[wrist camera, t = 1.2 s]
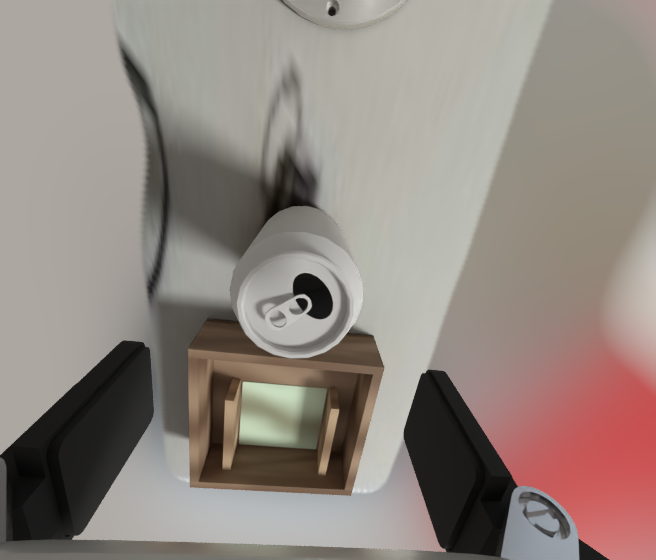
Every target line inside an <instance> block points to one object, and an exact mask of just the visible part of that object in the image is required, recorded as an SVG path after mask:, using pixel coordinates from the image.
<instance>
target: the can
mask: <svg viewBox="0 0 656 560" xmlns="http://www.w3.org/2000/svg"><path fill="white" fill-rule="evenodd" d="M230 295H231V302H232V309H233V311H234V313H235V315H236V316H237V319H238V321H239V323H240V325H241V327H242V329H243V330H244V332H245V334H246V335H247V336H248V337H249V338H250V339H251V340H252V341H253V342H254V343H255V344H256V345H257V346H258V347H260V348H262V349H264V350H266V351H267V352H269V353H271V354H273V355H277V356H282V357H286V358H309V357H312V356H315V355H318V354H321V353H325V352H326V351H328V350H329V349H331V348H332V347H334V346H335V345H337V344H338V343H339V342H340V341H341V340H342V339H343V337H344V336H345V335H346V334H347V332H348V331H349V330H350V328H351V327H352V326H353V324H354V323H355V322H356V320H357V317H358V315H359V312H360V309H361V307H362V304H363V283H362V280H361V277H360V274H359V271H358V268H357V265H356V263H355V260H354V258H353V256H352V253H351V251H350V249H349V246H348V244H347V241H346V239H345V237H344V234H343V232H342V230H341V228H340V227H339V226H338V224H337V223H336V222H335V220H334V219H333V218H332V217H330V216H329V215H328V214H326V213H325V212H323V211H322V210H319V209H316V208H312V207H309V206H292V207H290V208H287V209H284V210H281V211H279V212H278V213H276V214H275V215H274V216H273V217H271V218H270V219H269V220H268V221H267V222H266V224H265V225H264V227H263V228H262V229H261V231H260V232H259V234H258V235H257V236H256V238H255V239H254V241H253V242H252V243H251V245H250V246H249V248H248V249H247V250H246V252H245V253H244V255H243V256H242V258H241V260H240V261H239V263H238V264H237V266H236V268H235V269H234V271H233V276H232V281H231V286H230Z"/></svg>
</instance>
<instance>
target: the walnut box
mask: <svg viewBox="0 0 656 560" xmlns="http://www.w3.org/2000/svg"><path fill="white" fill-rule="evenodd" d="M383 371H384V365H383V362H382V360H381V357H380V354H379V351H378V348H377V345H376V342H375V339H374V336H370V335H361V334H351V333H347V334H346V335H345V336H344V337H343V339H342V340H341V341H340V342H339V343H338V344H337V345H335V346H334V347H332V348H331V349H329V350H328V351H326V352H325V353H321V354H318V355H315V356H312V357H309V358H286V357H282V356H277V355H273V354H271V353H269V352H267V351H266V350H264V349H262V348H260V347H258V346H257V345H256V344H255V343H254V342H253V341H252V340H251V339H250V338H249V337H248V336H247V335H246V334H245V332H244V330H243V329H242V327H241V325H240V323H239V322H237V321H228V320H218V319H209V318H208V319H207V320H206V322H205V323H204V325H203V326H202V328H201V329H200V331H199V332H198V334H197V336H196V337H195V339H194V340H193V342H192V343H191V345H190V346H189V348H188V394H189V454H190V487H197V488H214V489H234V490H253V491H254V490H255V491H272V492H274V491H275V492H292V493H311V494H331V495H350V496H351V493H352V490H353V486H354V482H355V478H356V474H357V470H358V467H359V463H360V459H361V455H362V451H363V447H364V444H365V440H366V436H367V432H368V428H369V424H370V421H371V417H372V413H373V409H374V405H375V401H376V398H377V394H378V390H379V386H380V382H381V379H382V375H383Z"/></svg>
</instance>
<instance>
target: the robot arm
mask: <svg viewBox="0 0 656 560" xmlns="http://www.w3.org/2000/svg"><path fill="white" fill-rule="evenodd" d="M283 1H284V3H285V4H287V5H288V6H289V7H290V8H292V9H293V10H294V11H295V12H297V13H298V14H299V15H300V16H302V17H304V18H306V19H308V20H310V21H312V22H313V23H315V24H318V25H321V26H325V27H329V28H333V29H356V28H361V27H366V26H370V25H372V24H374V23H376V22H378V21H381V20H383V19H385V18H387V17H388V16H389V15H391V14H392V13H393V12H395V11H396V10H397V9H399V8H400V7H401V6H402V5H403V4H404V3H405V2H406V1H407V0H283ZM331 9H333V10H334V11H335V13H336V14H335V15H334V16H330V15H329V14H328V11H329V10H331ZM153 413H154V407H153V391H152V375H151V359H150V349H149V348H148V347H145V345H144V343H143V342H135V341H122V342H121V343H120V344H118V345H117V346H116V347H115V348H114V349H113V350H112V351H111V352H110V353H109V354H108V355H107V356H106V357H105V358H104V359H102V360H101V361H100V362H99V363H98V364H97V365H96V366H95V367H94V368H93V369H92V370H91V371H90V372H89V373H88V374H87V375H86V376H85V377H83V378H82V379H81V380H80V381H79V382H78V383H77V384H75V385H74V386H73V387H72V388H71V389H70V390H69V391H68V392H67V393H66V394H65V395H64V396H63V397H62V398H61V399H59V400H58V401H57V402H56V403H55V404H54V405H53V406H52V407H51V408H50V409H49V410H48V411H47V412H46V413H45V414H43V415H42V416H41V417H40V418H39V419H38V420H37V421H36V422H35V423H34V424H33V425H32V426H31V427H30V428H29V429H28V430H27V431H25V433H23V434H22V435H21V436H20V437H19V438H18V439H17V440H16V441H15V442H14V443H13V444H12V445H11V446H10V447H9V448H7V449H6V450H5V451H4V452H3V453H2V454H1V455H0V560H609V559H607V558H606V557H604V556H603V555H601V554H600V553H598V552H597V551H596V550H594V549H593V548H591V547H590V546H588V545H587V544H585V543H584V542H582V541H581V540H580V539H578V533H577V528H576V526H575V524H574V522H573V520H572V518H571V517H570V516H569V514H568V513H567V512H566V511H565V509H564V508H563V507H562V506H560V504H559V503H558V502H557V501H555V500H554V499H553V498H551V497H550V496H549V495H547V494H546V493H544V492H542V491H540V490H538V489H536V488H532V487H528V486H519V487H518V486H517V485H516V483H515V482H514V480H513V478H512V475H511V474H510V472H509V471H508V469H507V468H506V466H505V465H504V463H503V461H502V460H501V458H500V457H499V455H498V454H497V452H496V450H495V449H494V447H493V446H492V444H491V443H490V441H489V439H488V438H487V436H486V435H485V433H484V432H483V430H482V428H481V427H480V425H479V424H478V422H477V421H476V419H475V418H474V416H473V414H472V413H471V411H470V410H469V408H468V407H467V405H466V403H465V402H464V400H463V399H462V397H461V396H460V394H459V392H458V391H457V389H456V388H455V386H454V385H453V383H452V381H451V380H450V378H449V377H448V375H447V374H446V372H444V371H437V370H427V371H426V373H423V374H422V375H421V377H420V380H419V383H418V386H417V390H416V393H415V396H414V399H413V402H412V406H411V409H410V412H409V415H408V419H407V422H406V425H405V428H404V440H405V444H406V446H407V449H408V453H409V456H410V459H411V461H412V465H413V468H414V471H415V474H416V477H417V480H418V483H419V486H420V488H421V491H422V494H423V497H424V500H425V503H426V506H427V509H428V512H429V515H430V518H431V521H432V524H433V527H434V530H435V533H436V536H437V539H438V542H439V544H440V546H441V547H442V548H444V549H446V552H432V551H414V550H390V549H366V548H365V549H364V548H341V547H313V546H286V545H285V546H284V545H257V544H226V543H193V542H192V543H191V542H157V541H122V540H72V538H73V537H74V535H75V536H76V535H79V534H81V533H82V532H83V530H84V529H85V527H86V526H87V524H88V523H89V521H90V519H91V518H92V516H93V515H94V513H95V511H96V510H97V508H98V507H99V505H100V503H101V501H102V500H103V498H104V497H105V495H106V494H107V492H108V490H109V489H110V487H111V485H112V484H113V482H114V480H115V479H116V477H117V476H118V474H119V473H120V471H121V469H122V468H123V466H124V464H125V462H126V461H127V460H128V458H129V456H130V454H131V453H132V451H133V450H134V448H135V447H136V445H137V443H138V442H139V440H140V439H141V437H142V435H143V434H144V432H145V430H146V429H147V427H148V425H149V424H150V422H151V420H152V417H153Z"/></svg>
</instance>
